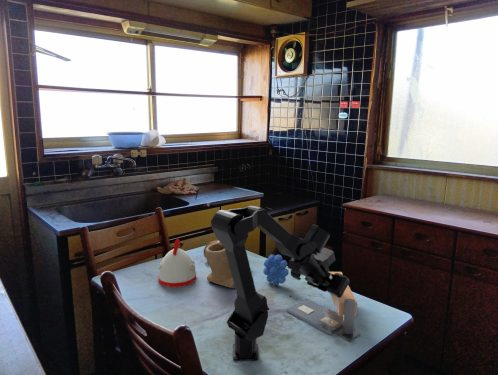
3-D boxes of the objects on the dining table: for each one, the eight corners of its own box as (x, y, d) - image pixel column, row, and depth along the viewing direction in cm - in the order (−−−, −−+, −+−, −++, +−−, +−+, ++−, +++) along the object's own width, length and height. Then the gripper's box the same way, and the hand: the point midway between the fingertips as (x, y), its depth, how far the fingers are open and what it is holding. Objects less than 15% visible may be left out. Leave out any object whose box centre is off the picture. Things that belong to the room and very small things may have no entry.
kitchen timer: (198, 271, 149) (197, 235, 146) (192, 287, 135) (192, 247, 133) (163, 271, 149) (162, 234, 146) (154, 286, 136) (152, 247, 133)
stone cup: (198, 283, 139) (197, 244, 136) (220, 272, 148) (220, 235, 145) (229, 295, 130) (229, 254, 127) (251, 283, 139) (251, 244, 136)
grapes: (295, 286, 136) (296, 255, 134) (282, 292, 132) (283, 260, 129) (271, 276, 145) (272, 246, 142) (259, 281, 140) (259, 251, 138)
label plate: (350, 322, 113) (351, 318, 113) (330, 335, 107) (330, 331, 107) (307, 301, 126) (307, 297, 126) (286, 311, 119) (286, 307, 119)
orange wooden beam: (358, 334, 106) (360, 304, 104) (340, 334, 106) (342, 303, 104) (340, 293, 129) (341, 268, 127) (325, 293, 129) (326, 268, 127)
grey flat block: (360, 335, 107) (360, 333, 107) (350, 341, 104) (350, 339, 104) (345, 327, 111) (345, 325, 111) (335, 334, 108) (335, 332, 107)
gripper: (348, 251, 107) (366, 278, 116) (298, 234, 120) (318, 260, 130) (329, 284, 103) (349, 309, 112) (279, 264, 117) (301, 287, 126)
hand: (329, 289), depth 120 cm, fingers closed
